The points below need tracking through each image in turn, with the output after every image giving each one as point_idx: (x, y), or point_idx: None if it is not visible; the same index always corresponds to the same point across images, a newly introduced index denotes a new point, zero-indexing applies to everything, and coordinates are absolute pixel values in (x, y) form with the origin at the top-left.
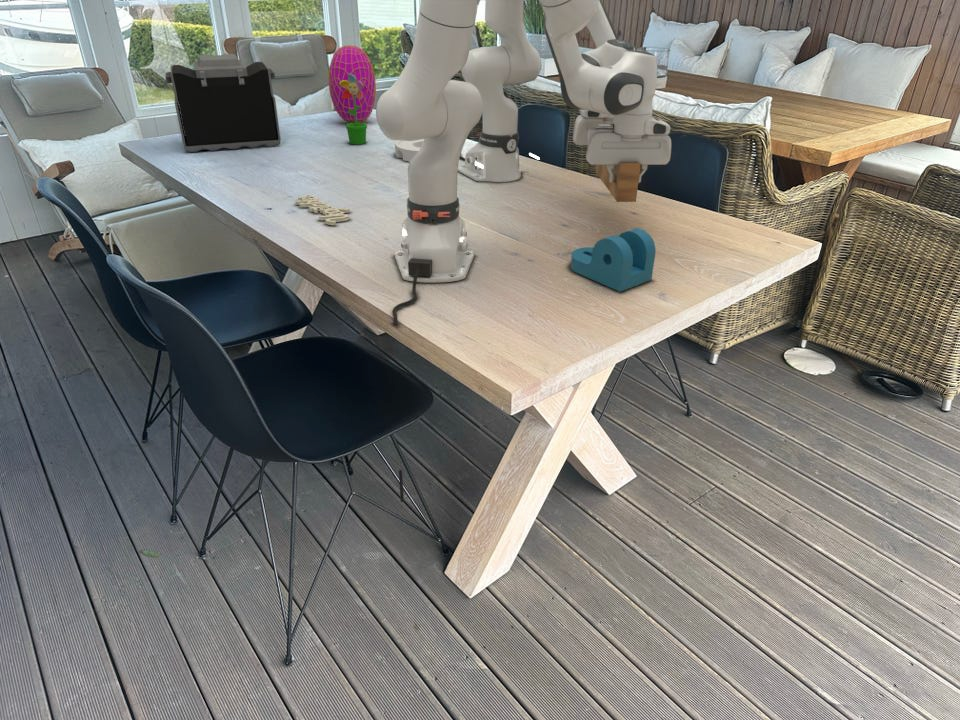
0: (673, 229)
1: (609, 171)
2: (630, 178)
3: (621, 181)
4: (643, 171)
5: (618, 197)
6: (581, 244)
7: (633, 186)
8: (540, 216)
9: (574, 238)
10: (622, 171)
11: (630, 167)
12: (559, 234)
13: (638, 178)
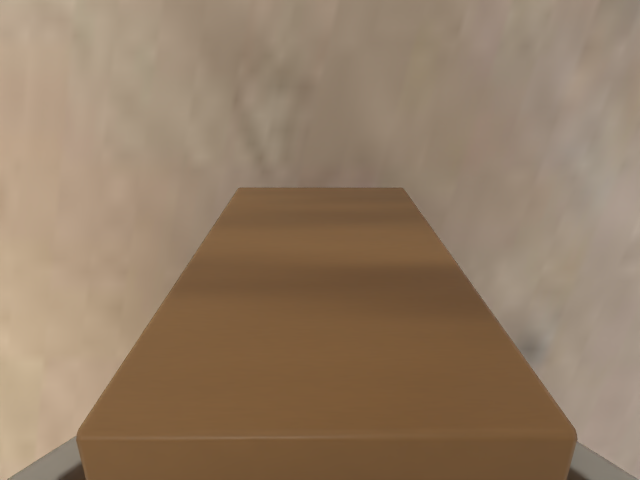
0: (41, 297)
1: (581, 451)
2: (304, 275)
3: (422, 259)
4: (78, 450)
5: (402, 196)
6: (532, 109)
7: (259, 232)
8: (591, 445)
9: (538, 193)
10: (468, 330)
11: (327, 378)
12: (591, 245)
13: (185, 275)
